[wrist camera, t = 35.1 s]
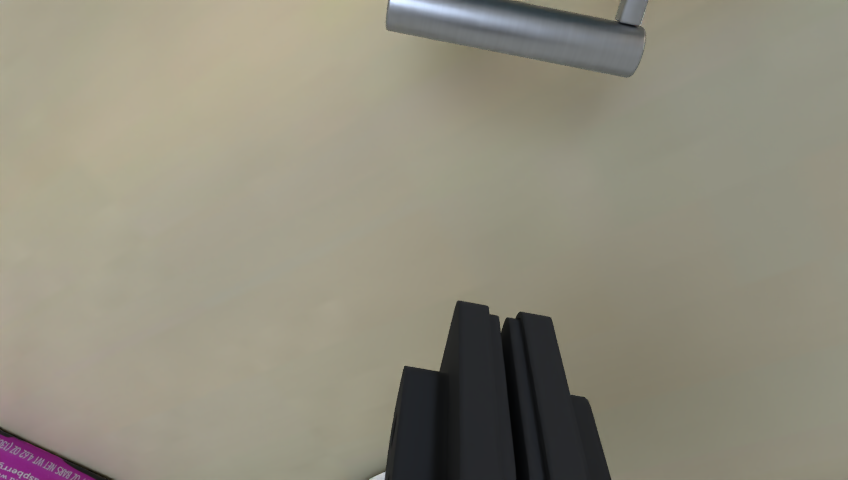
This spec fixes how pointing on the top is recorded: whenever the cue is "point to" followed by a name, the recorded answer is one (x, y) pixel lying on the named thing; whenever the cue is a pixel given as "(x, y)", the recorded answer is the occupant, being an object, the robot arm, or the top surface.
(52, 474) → the candy bar box
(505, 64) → the top surface
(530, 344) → the robot arm
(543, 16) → the drawer
